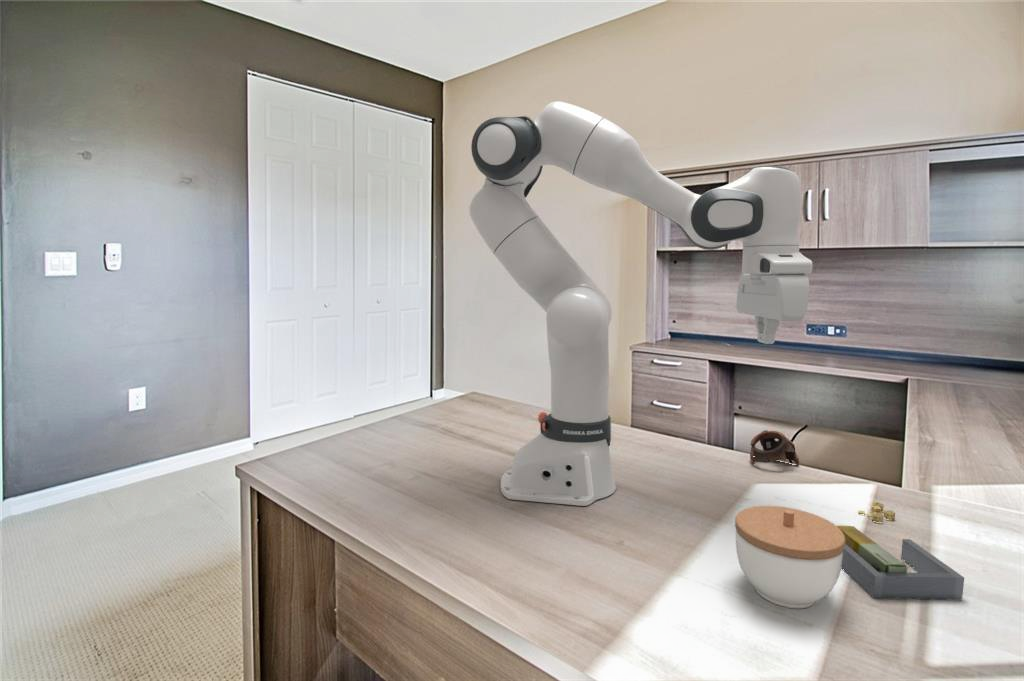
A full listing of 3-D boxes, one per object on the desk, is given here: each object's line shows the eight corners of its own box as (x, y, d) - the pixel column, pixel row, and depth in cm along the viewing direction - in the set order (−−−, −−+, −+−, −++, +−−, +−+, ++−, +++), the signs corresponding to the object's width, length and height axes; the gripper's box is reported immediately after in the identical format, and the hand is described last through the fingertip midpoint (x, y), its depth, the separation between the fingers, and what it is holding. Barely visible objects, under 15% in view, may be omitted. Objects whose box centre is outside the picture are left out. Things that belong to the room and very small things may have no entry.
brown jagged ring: (810, 473, 114) (798, 443, 111) (766, 490, 116) (754, 461, 113) (785, 442, 125) (774, 414, 122) (745, 458, 127) (733, 430, 124)
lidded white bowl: (733, 609, 67) (737, 525, 66) (731, 559, 79) (734, 486, 78) (850, 632, 63) (857, 542, 62) (830, 576, 75) (835, 499, 73)
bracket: (873, 598, 69) (875, 576, 69) (830, 557, 79) (832, 538, 79) (962, 599, 69) (964, 577, 69) (908, 558, 79) (909, 539, 79)
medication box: (906, 596, 70) (909, 566, 70) (885, 595, 70) (888, 566, 70) (850, 549, 82) (853, 524, 82) (832, 549, 82) (835, 523, 82)
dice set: (877, 512, 96) (878, 501, 95) (902, 525, 91) (903, 514, 90) (852, 514, 95) (852, 503, 95) (875, 527, 90) (876, 516, 90)
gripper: (729, 264, 104) (726, 336, 106) (777, 262, 84) (772, 350, 86) (762, 264, 104) (759, 336, 106) (818, 262, 84) (813, 350, 86)
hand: (765, 342), depth 96 cm, fingers closed
